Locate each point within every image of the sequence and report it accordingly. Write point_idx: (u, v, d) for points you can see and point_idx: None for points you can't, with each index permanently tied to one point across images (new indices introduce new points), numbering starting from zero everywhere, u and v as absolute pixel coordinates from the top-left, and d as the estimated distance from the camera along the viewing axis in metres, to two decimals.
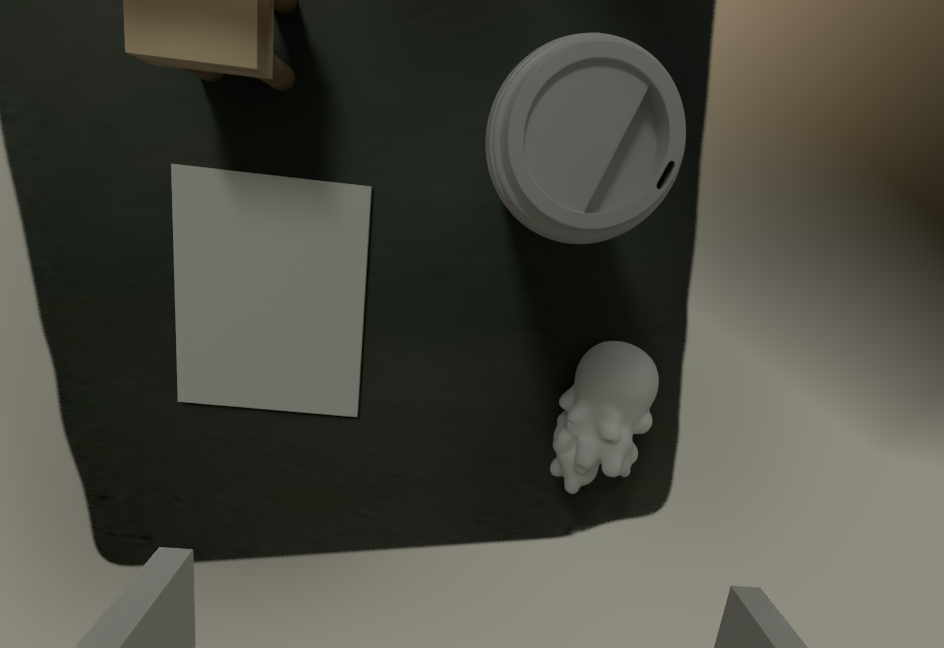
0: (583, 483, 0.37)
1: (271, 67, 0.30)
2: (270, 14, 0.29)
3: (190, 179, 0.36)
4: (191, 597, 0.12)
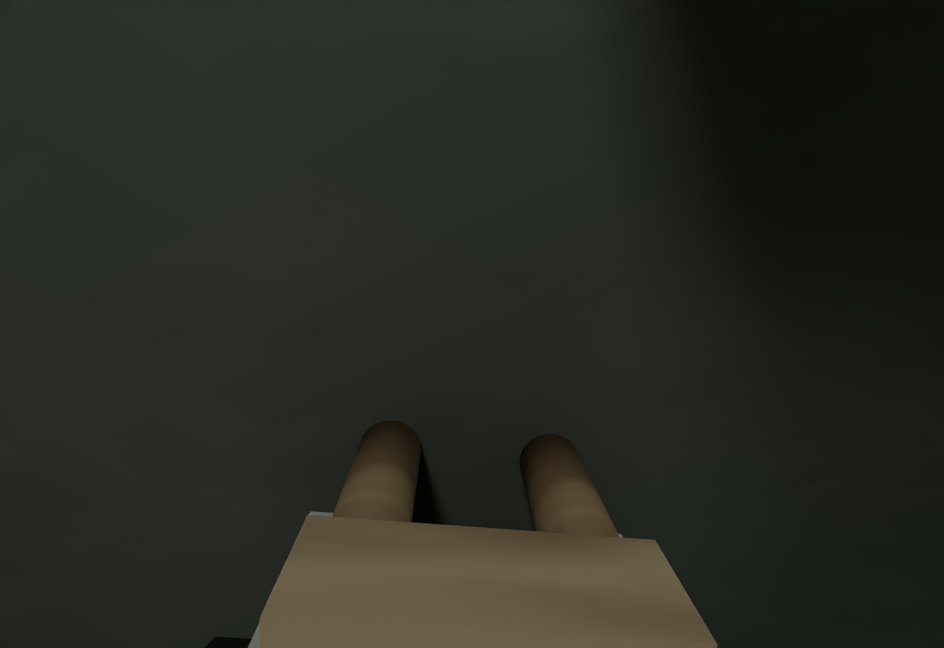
0: None
1: None
2: None
3: None
4: None
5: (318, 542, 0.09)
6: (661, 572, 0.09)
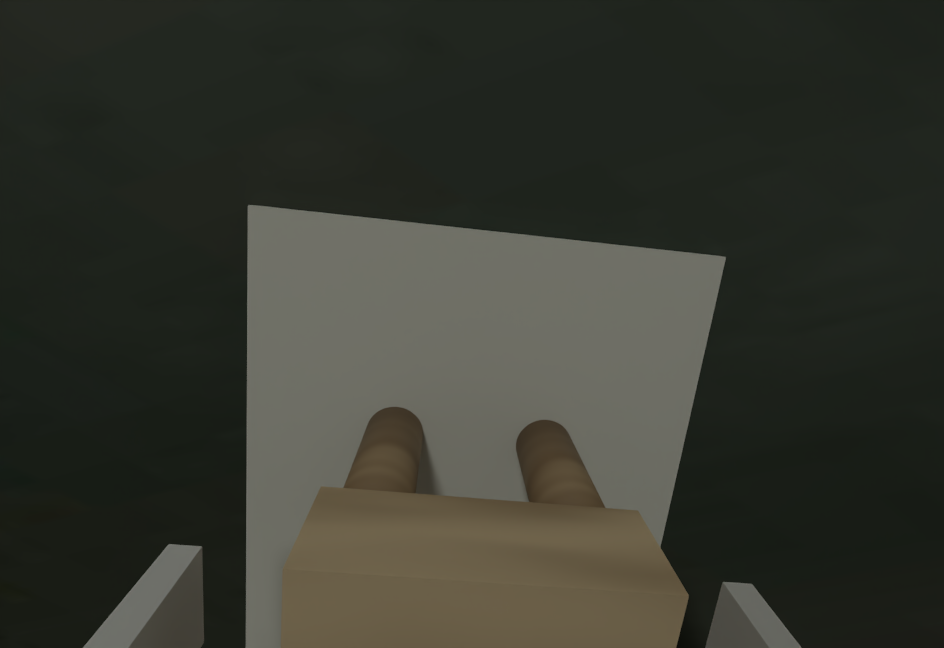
0: None
1: None
2: None
3: (293, 243, 0.14)
4: (201, 594, 0.12)
5: (331, 509, 0.10)
6: (642, 537, 0.10)
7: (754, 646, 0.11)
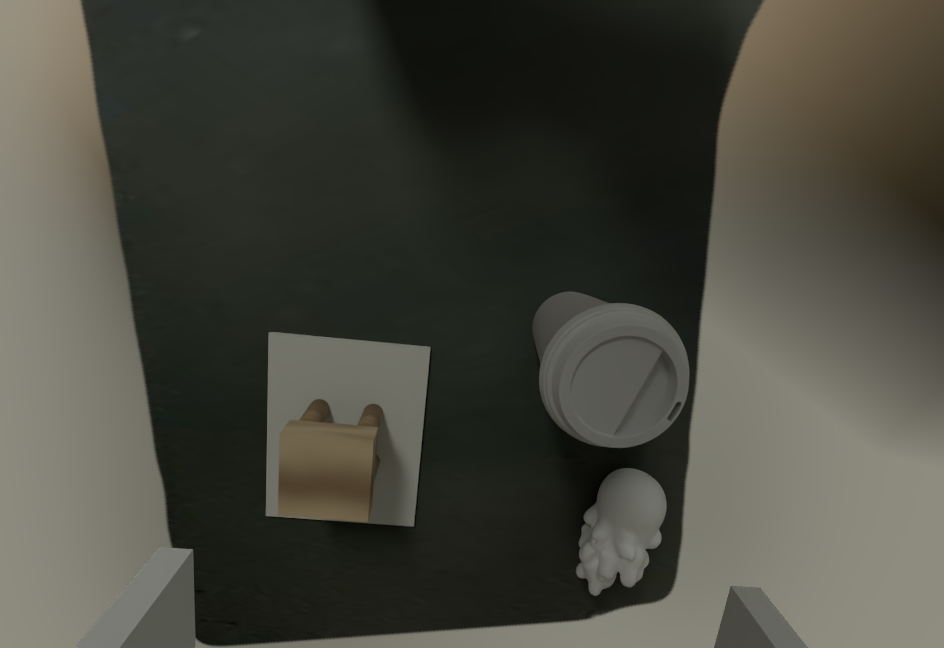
0: (604, 587, 0.45)
1: None
2: (374, 470, 0.41)
3: (283, 344, 0.44)
4: (191, 597, 0.12)
5: (292, 424, 0.39)
6: (373, 431, 0.40)
7: None
